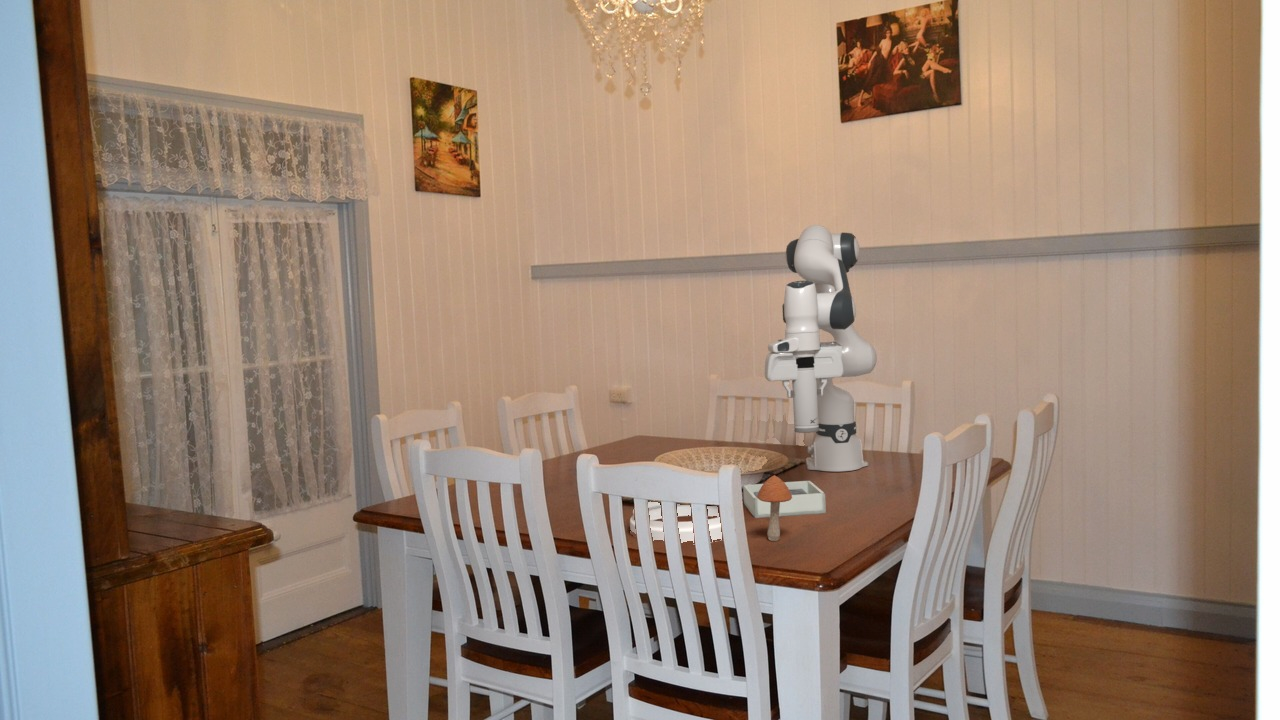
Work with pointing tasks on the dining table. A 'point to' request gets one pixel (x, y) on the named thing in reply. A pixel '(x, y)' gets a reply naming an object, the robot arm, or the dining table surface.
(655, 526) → the plate
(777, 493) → the mushroom
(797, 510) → the crate
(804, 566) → the dining table surface
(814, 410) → the travel mug
